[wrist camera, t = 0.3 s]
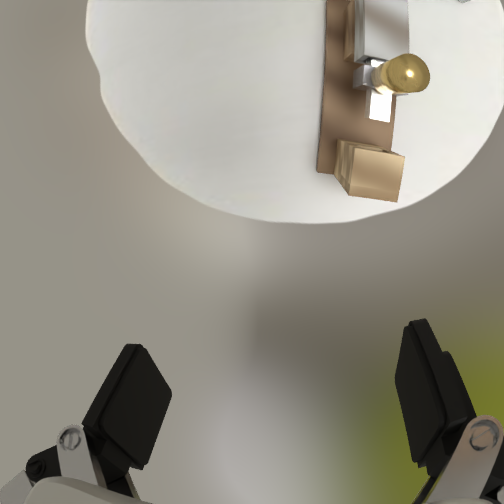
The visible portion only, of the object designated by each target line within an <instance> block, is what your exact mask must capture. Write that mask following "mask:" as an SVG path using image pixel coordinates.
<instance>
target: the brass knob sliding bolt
mask: <svg viewBox="0 0 504 504" xmlns="http://www.w3.org/2000/svg"><path fill="white" fill-rule="evenodd" d="M429 81H430V73H429V70H428V67H427V65H426V64H425V63H424V61H423V60H422V59H420V58H419V57H418V56H416V55H413V54H409V53H406V54H402V55H399V56H397V57H395V58H393V59H391V60H388V61H384V60H380V59H376V58H371V57H368V58H367V59H366V65H362V66H361V67H359V68H357V69H356V70H354V73H353V89H359V90H364V91H367V92H366V106H365V118H369V119H374V120H379V121H385V122H389V119H390V108H391V96H402V95H408V93H412V92H420V91H423V90H424V89H425V88H426V87H427V86H428V84H429Z"/></svg>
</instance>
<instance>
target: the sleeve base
mask: <svg viewBox="0 0 504 504" xmlns="http://www.w3.org/2000/svg"><path fill="white" fill-rule="evenodd" d="M406 53H409V16H408V0H327V6H326V49H325V71H324V89H323V104H322V117H321V130H320V141H319V152H318V162H317V172H318V173H326V174H334V168H335V159H336V150H337V140H338V139H343V140H349V141H356V142H362V143H368V144H374V145H378V146H380V147H383V148H385V149H387V150H390V151H391V146H392V138H393V129H394V119H395V108H396V96H391V108H390V119H389V122H385V121H379V120H374V119H369V118H365V106H366V92H367V91H364V90H359V89H353V73H354V70H356V69H357V68H359V67H361V66H362V65H366V59H367V58H368V57H371V58H376V59H380V60H384V61H388V60H391V59H393V58H395V57H397V56H399V55H402V54H406Z"/></svg>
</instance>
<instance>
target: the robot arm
mask: <svg viewBox="0 0 504 504" xmlns="http://www.w3.org/2000/svg"><path fill="white" fill-rule="evenodd" d="M395 385H396V389H397V393H398V397H399V401H400V404H401V409H402V413H403V418H404V422H405V427H406V431H407V436H408V441H409V446H410V451H411V457H412V461H413V462H414V463H415V462H417V463H418V468H421V467H424V466H426V467H427V473H428V475H429V477H428V479H427V480H426V482H425V484H424V485H423V487H422V488H421V490H420V491H419V493H418V494H417V496H416V498H415V499H414V500H413V502H412V503H411V504H504V433H503V427H502V425H501V423H500V422H499V421H498V420H497V419H496V418H494V417H492V416H488V415H482V416H478V417H477V416H476V413H475V411H474V408H473V405H472V403H471V400H470V398H469V395H468V393H467V390H466V388H465V385H464V383H463V380H462V378H461V376H460V373H459V371H458V369H457V367H456V365H455V362H454V360H453V358H452V356H451V354H450V353H449V352H448V351H444V352H442V350H441V348H440V346H439V344H438V342H437V339H436V338H435V335H434V333H433V331H432V329H431V327H430V325H429V323H428V321H427V320H426V319H420V320H414V321H410V322H409V325H408V326H406V327H404V331H403V337H402V343H401V348H400V354H399V359H398V364H397V369H396V373H395ZM171 397H172V392H171V389H170V388H169V386H168V384H167V383H166V381H165V380H164V378H163V376H162V375H161V373H160V371H159V370H158V368H157V366H156V365H155V363H154V361H153V360H152V358H151V356H150V354H149V353H148V351H147V349H145V348H144V347H143V346H142V345H141V344H126V345H125V346H124V348H123V350H122V351H121V353H120V355H119V357H118V358H117V360H116V362H115V363H114V365H113V367H112V369H111V370H110V372H109V374H108V376H107V377H106V379H105V381H104V383H103V384H102V386H101V388H100V390H99V392H98V394H97V395H96V397H95V399H94V401H93V403H92V405H91V406H90V408H89V410H88V412H87V414H86V416H85V418H84V420H83V421H82V425H83V426H84V427H83V429H82V428H81V427H80V426H78V425H69V426H67V427H65V428H64V429H63V430H62V431H61V432H60V433H59V435H58V437H57V445H55V446H53V447H51V448H49V449H47V450H44V451H42V452H40V453H38V454H35V455H34V456H32V457H31V458H30V459H29V460H28V462H27V465H26V471H25V470H23V471H21V472H20V473H19V474H18V475H17V476H15V477H14V478H13V479H12V480H11V481H9V482H8V483H7V484H6V485H5V486H3V487H2V489H1V491H0V502H1V504H152V503H148V502H144V501H141V500H140V497H139V495H138V493H137V491H136V488H135V486H134V484H133V481H132V479H131V476H130V474H129V472H128V470H129V467H132V468H135V469H139V470H143V468H144V465H146V464H147V463H148V461H149V458H150V456H151V453H152V450H153V447H154V444H155V442H156V439H157V436H158V433H159V431H160V428H161V425H162V422H163V419H164V417H165V414H166V411H167V409H168V406H169V403H170V400H171Z"/></svg>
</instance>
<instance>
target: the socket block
mask: <svg viewBox="0 0 504 504" xmlns="http://www.w3.org/2000/svg"><path fill="white" fill-rule="evenodd" d="M404 160H405V157H404V156H401V155H399V154H397V153H394V152H392V151H390V150H387V149H385V148H383V147H380V146H378V145H374V144H368V143H362V142H356V141H349V140H343V139H338V140H337V150H336V159H335V168H334V175H335V177H336V178H337V180H338V181H339V182H340V184H341V185H342V187H343V188H344V189H345V191H346V192H347V194H348V195H349V196H356V197H364V198H371V199H378V200H384V201H391V202H397V200H398V195H399V190H400V185H401V179H402V173H403V167H404Z"/></svg>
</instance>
